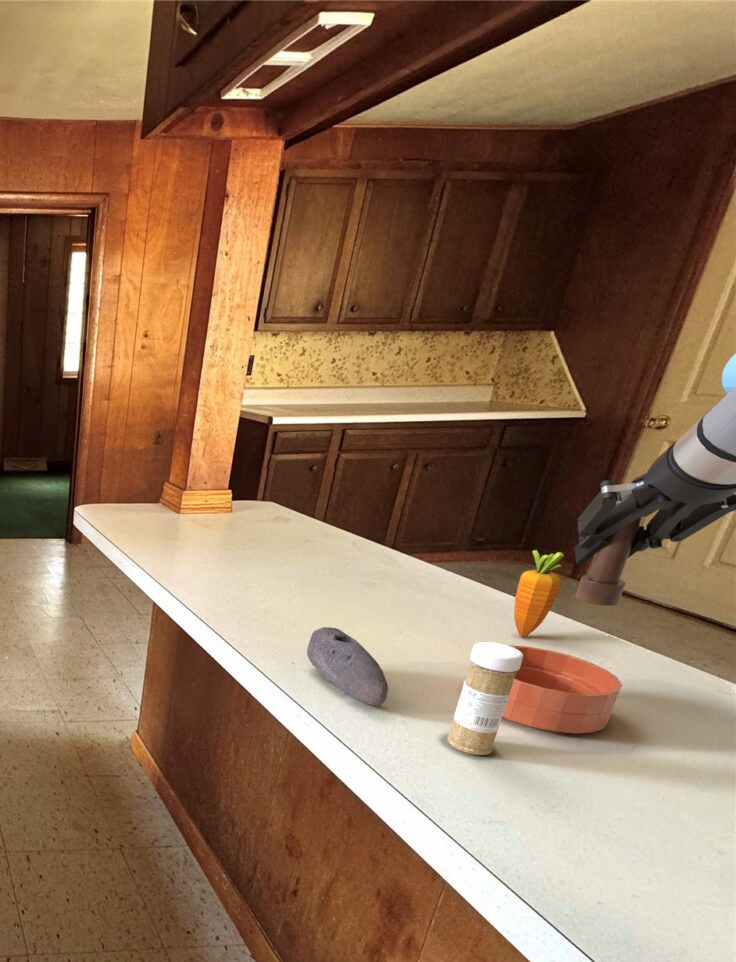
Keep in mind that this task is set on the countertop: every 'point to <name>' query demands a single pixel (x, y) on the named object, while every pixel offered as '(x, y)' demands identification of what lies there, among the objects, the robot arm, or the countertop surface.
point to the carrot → (536, 593)
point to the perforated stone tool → (347, 665)
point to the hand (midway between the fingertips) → (595, 556)
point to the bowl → (561, 693)
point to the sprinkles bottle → (484, 697)
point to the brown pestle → (609, 567)
